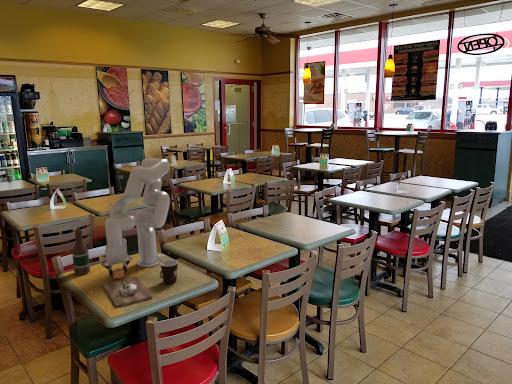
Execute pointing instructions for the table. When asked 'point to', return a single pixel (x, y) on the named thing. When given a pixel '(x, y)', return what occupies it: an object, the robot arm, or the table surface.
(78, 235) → the beer bottle
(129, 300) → the gear board
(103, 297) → the table surface
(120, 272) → the terracotta gear
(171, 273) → the coffee mug
